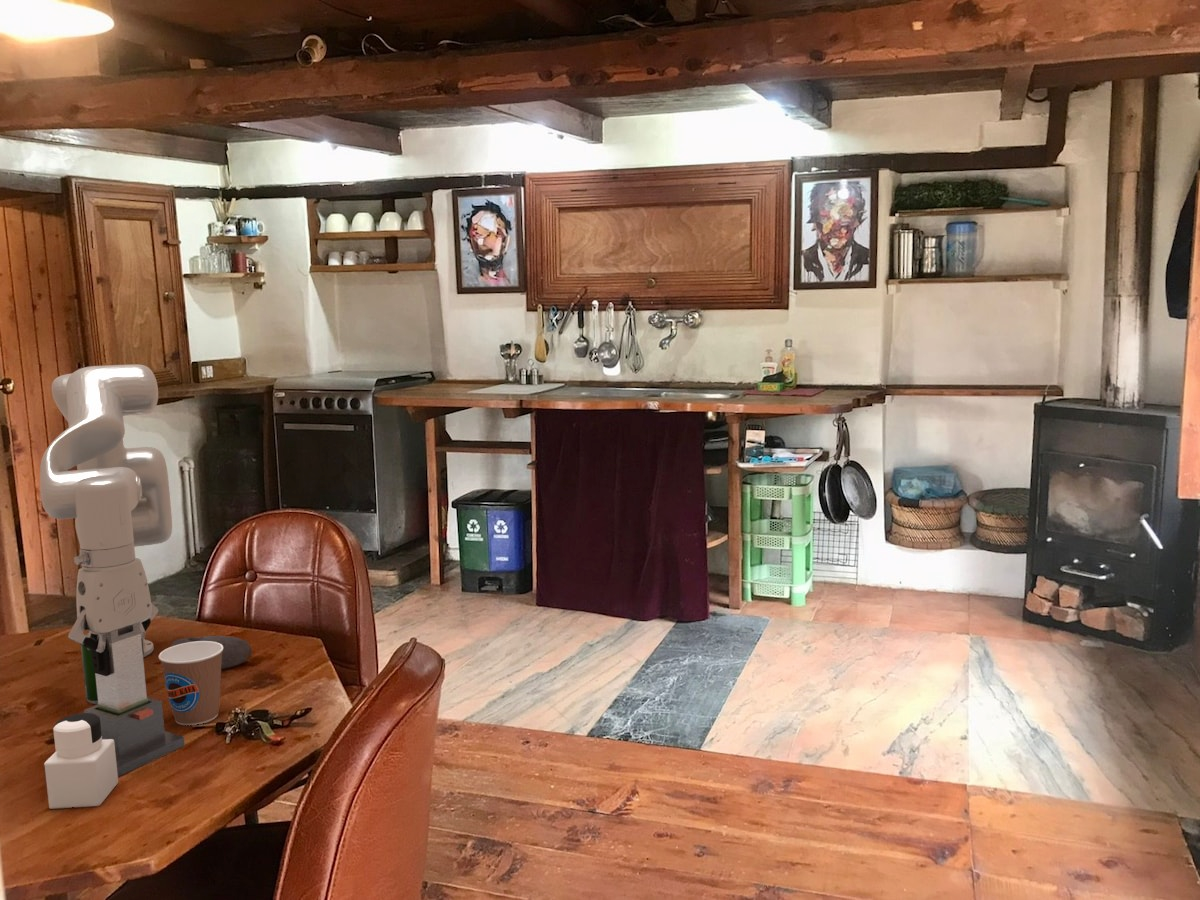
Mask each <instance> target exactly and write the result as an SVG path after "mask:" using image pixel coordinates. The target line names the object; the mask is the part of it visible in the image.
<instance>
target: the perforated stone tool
mask: <svg viewBox="0 0 1200 900" xmlns="http://www.w3.org/2000/svg"><path fill="white" fill-rule="evenodd" d="M195 641H212V642H217V643H220V644H222V645H223V651H222V660H221V670H225V669H229V668H233V667H236V666H239V665H242V664H243V663H244V662H246V661H248V659H250V657H251V655H252V647H251V645H250V643H249V642H248V641H247V640H244V639H242V638H240V637H236V636H229V635H228V636H226V635H208V636H201V637H199V636H198V637H193V636H192V637H185V638H178V639H175V640H173V642H172V643H171V645H170V647H172V646H175V645H179V644H183V643H188V642H195Z"/></svg>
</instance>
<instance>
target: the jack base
mask: <svg viewBox="0 0 1200 900" xmlns="http://www.w3.org/2000/svg"><path fill="white" fill-rule="evenodd" d="M147 698H148V703H147V704H146V705H144V706H141V707H139V708H136V709H134V710H131V711H129V712H126V713H124V714H122V715H119V716H116V715H113V714H110V713H106V712H103V711H100V710H99V709H98V705H97V704H94V705H93V706H91V707H88V708H85V709H83V713H91V714H95V715H97V716H98V717H99V718H100V723H101V733H102V740H103V739H113V740H114V744H115V754H116V764H117V774H118V778H119V777H120V776H123V775H125V774H127V773H130V772H131V771H134V770H136V769H138V768H140V767H142V766H144V765H147V764H149V763H150V762H153V761H155V760H157V759H159V758H161V757H164V756H165V755H168V754H170V753H172V752H175V751H176V750H178V749H179V750H180V748H183V747H185V746H186V743H185V736H182V735H179V734H175V733H172V732H169V731H166V730H165V723H164V722H165V721H164V712H163V702H162V700H159V699H156V698H152V697H148V696H147Z"/></svg>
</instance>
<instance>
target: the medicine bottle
mask: <svg viewBox="0 0 1200 900" xmlns="http://www.w3.org/2000/svg"><path fill="white" fill-rule="evenodd" d="M52 728H53V729H52V731H53V738H54V747H55V751H54V753H53V754H52V755H50V757H48V758H47V759H46V761H45V762H44V763H43V767H44V775H45V784H46V794H47V795H46V796H47V802H48V803H47V804H48V808H49V809H51V810H56V809H70V808H71V809H73V808H72V807H74V808H90V807H99V806H101V805H102V803H103V802H104V801H105V800H106V799H107V797H108V796H109V795H110V794H111V792H112V791H113V789H114V788H115V787H116V786H117V785H118V783H119V777H118V774H117V764H116V754H115V744H114V740H113V739H103V740H102V733H101V723H100V718H99V717H98V716H97V715H95V714H91V713H84V712H79V713H74V714H71V715H68V716H67V715H66V716H65V717H62V718H61V719H59V720H58V721H57V722H55V724H54V725H53V727H52Z"/></svg>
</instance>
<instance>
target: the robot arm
mask: <svg viewBox="0 0 1200 900" xmlns="http://www.w3.org/2000/svg"><path fill="white" fill-rule="evenodd" d="M51 395H52V398H53V401H54V403H55V405H56V406H57V407H56V408H57V409H58V410H59V411H60V413H61V414H62V416H63V417H64V419H65V421H67V424H68V427H67V428H66V429H65V430H64V431H62V432H61V433H59V435H58V436H57V437H55V439H54V440H52V442H51V443H50V444H49V445H48V447H47V448H46V449H45V451H44V453H43V454H42V455H43V456H42V458H41V460H40V468H39V469H40V470H39V477H40V487H39V488H40V499H41V504H42V507H43V510H44V511H45V513H46V514H47V515H48V516H49V517H50V518H52V519H55V520H69V519H70V520H71V519H75V521H74V524H75V526H74V527H75V532H76V537H77V539H78V542H79V554H78V555H76V556H74V558H73V562H74V564H75V565H76V566H79V565H80V567H81V568H79V569H78V573H77V580H76V590H75V591H76V592H75V594H76V595H75V597H76V598H75V599H76V601H75V602H76V605H75V606H76V620H75V623H74V624H73V625H72V628H71V629H70V631H69V633H68V636H67V637H68V639H69V640H71V641H74V642H76V643H78V644H80V646H81V645H83V646H85V647H86V648H87V649H88V650H91V655H92V665H93V669H94V672H95V673H96V674H99V675H103V676H108V675H110V673H111V671H110V662H109V652H108V651H107V650H105V644H106V638H107V637H106V634H108V633H110V632H113V631H116V630H120V629H123V628H126V627H129V626H132V625H135V624H138V623H140V631H141V642H142V652H143V658H145V657H147V656H148V655H150V654H152V653H153V651H154V649H155V646H154V643H153V642H152V641H150V640H149V639H145V637H146V634H147V633H146V631H147V629H148V628H149V626H150V625H151V623H152V621H153V620H154V618H155V617H156V616H157V614H158V613H159V609H158V607H157V606H155V604H154V603H152V598H151V593H150V588H149V583H148V579H147V574H146V572H145V571H146V570H145V568H144V566H143V563H142V560H141V559H140V558H136V551H135V549H136V547H144V546H152V545H159V544H163V543H165V542H167V541H168V540H169V539H170V538H171V536H172V533H173V516H172V514H173V513H172V506H171V496H170V495H171V494H170V485H169V481H170V480H169V474H168V467H167V462H166V459H165V456H164V454H163V452H162V451H161V450H160V449H158V448H155V447H149V446H142V447H141V446H140V447H139V446H138V447H127V448H126V447H125V445H124V437H125V431H126V430H125V429H126V428H125V423H124V417H125V416H140V415H141V416H143V415H148V414H151V413H152V412H153V411H154V410H155V409H156V407H157V405H158V401H159V387H158V382H157V379H156V376H155V374H154V372H153V371H152V369H151V368H150V367H148V366H147V365H144V364H137V363H136V364H133V363H132V364H111V365H107V364H106V365H91V366H86V367H82V368H79V369H77V370H74V372H72V373H66V374H61V375H59V376H57V377H56V378H55V379H54V380H53V381H52V383H51ZM74 467H76V470H71V469H72V468H74ZM142 496H143V497H144V498H142ZM87 631H88V633H89V635H88V637H87V636H85V635H86V634H84V632H87ZM97 636H98V637H97ZM143 663H144V659H143Z"/></svg>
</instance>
